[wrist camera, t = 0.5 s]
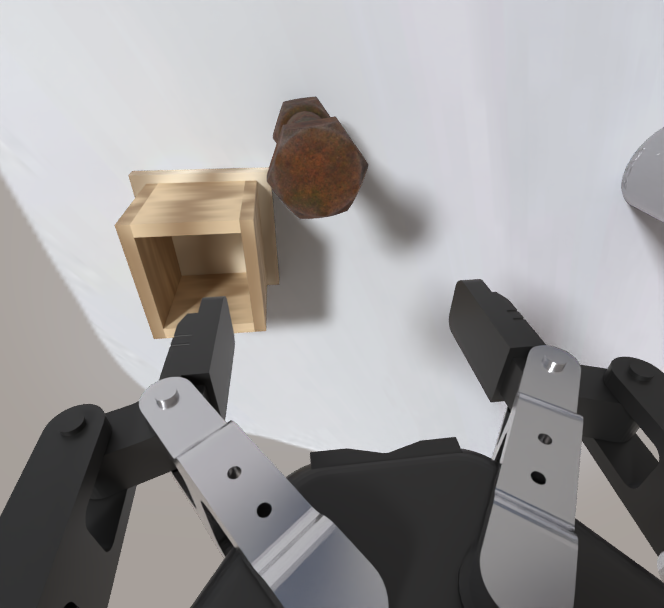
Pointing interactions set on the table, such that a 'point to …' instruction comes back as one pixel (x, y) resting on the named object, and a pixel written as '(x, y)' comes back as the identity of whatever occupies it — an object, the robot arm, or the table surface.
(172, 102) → the table surface
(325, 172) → the bolt
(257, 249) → the socket block
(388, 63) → the table surface
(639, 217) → the table surface
